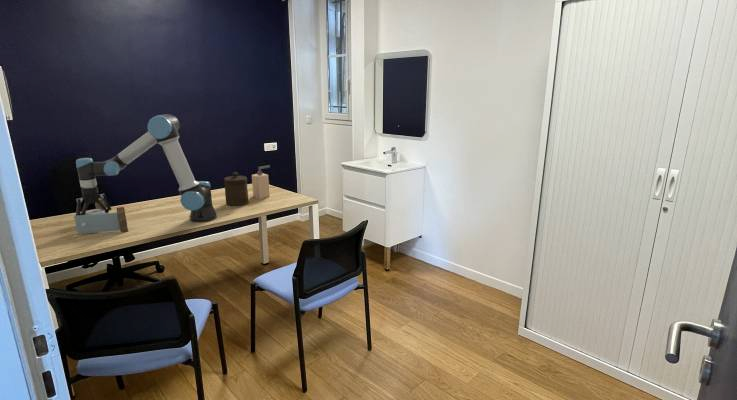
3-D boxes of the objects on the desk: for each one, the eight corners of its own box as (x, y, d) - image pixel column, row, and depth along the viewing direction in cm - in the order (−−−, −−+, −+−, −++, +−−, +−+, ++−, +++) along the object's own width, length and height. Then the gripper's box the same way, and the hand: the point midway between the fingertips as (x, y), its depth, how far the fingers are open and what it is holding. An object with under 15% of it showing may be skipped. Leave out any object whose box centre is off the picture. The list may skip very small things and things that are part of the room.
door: (124, 229, 225) (121, 212, 222) (122, 230, 222) (119, 213, 219) (78, 233, 219) (75, 215, 216) (76, 235, 216) (73, 217, 213)
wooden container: (248, 199, 286) (245, 169, 280) (249, 205, 272) (246, 173, 266) (226, 201, 281) (223, 170, 275) (226, 207, 268) (223, 175, 262)
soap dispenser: (259, 198, 289) (257, 168, 283) (253, 196, 295) (250, 166, 289) (274, 195, 298) (272, 166, 292) (267, 193, 304) (266, 164, 298)
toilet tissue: (79, 226, 225) (76, 211, 223) (107, 222, 231) (105, 208, 229) (77, 231, 218) (74, 216, 215) (106, 227, 224) (103, 212, 221)
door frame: (128, 231, 223) (124, 207, 219) (122, 233, 221) (118, 208, 217) (102, 218, 244) (98, 196, 240) (96, 219, 242) (92, 197, 238)
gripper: (108, 181, 230) (115, 219, 236) (62, 189, 213) (71, 229, 219) (114, 183, 225) (120, 221, 232) (67, 191, 209) (76, 232, 215)
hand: (96, 225), depth 225 cm, fingers closed on toilet tissue, 9 cm apart
